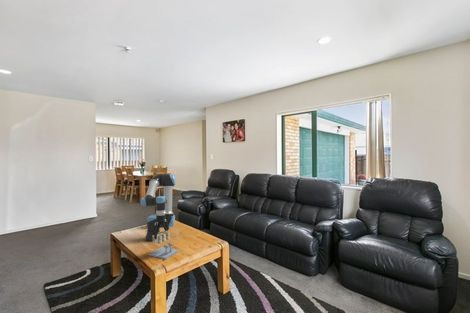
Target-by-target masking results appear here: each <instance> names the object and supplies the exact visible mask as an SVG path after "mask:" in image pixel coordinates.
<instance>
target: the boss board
mask: <svg viewBox="0 0 470 313" xmlns="http://www.w3.org/2000/svg"><path fill="white" fill-rule="evenodd" d="M173 245H174V242H171V241H170V242H168V243H167V244H164V245H163V246H161V247H160V248H158V249H155V250H154V251H152V252H149V253H148V256H150V257H153V258H154V257H155V258H159V259H162V260H167V259H169V258H170V257H172V256H174V255H175V254H177V253H179V251H180V250H179V249H175V248H173Z"/></svg>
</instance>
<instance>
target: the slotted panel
mask: <svg viewBox="0 0 470 313" xmlns="http://www.w3.org/2000/svg"><path fill="white" fill-rule="evenodd" d="M157 235H158V243H157V244H162V243H165V242H167V240H168V241H170V232H169V231H167V232H164V230H163V231H161V230H160V232H158V234H157ZM152 243H154V244H156V243H155V239H154V235H153V241H152Z"/></svg>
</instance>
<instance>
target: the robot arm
mask: <svg viewBox="0 0 470 313" xmlns="http://www.w3.org/2000/svg"><path fill="white" fill-rule="evenodd" d="M160 186H162V188H163V195H159V196H155V194H156V191H157V189H158V187H160ZM175 186H176V177H175V175H174V174H173V173H162V174H161V173H160V174H156V175H154V176H153V177H152V178H150V180H149V183H148V188H147V191H146V194H144V195H145V196H144V197H141V198H140V205H141V207H153V206H154V207H155V206H156V214H155V213H154V214H151V215H149V216H147V218H146V234H145V236H144V237H145V238H144V240H145V241H147V242H153V235H154V239H155V243H154V244H159V243H158V235H157V234H158V232H161V230H160V229H164V230H163V232H169V230H170V228H173V227H174V225H175V220H176V215H175V214H174V212H173V189H174V187H175Z"/></svg>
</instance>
